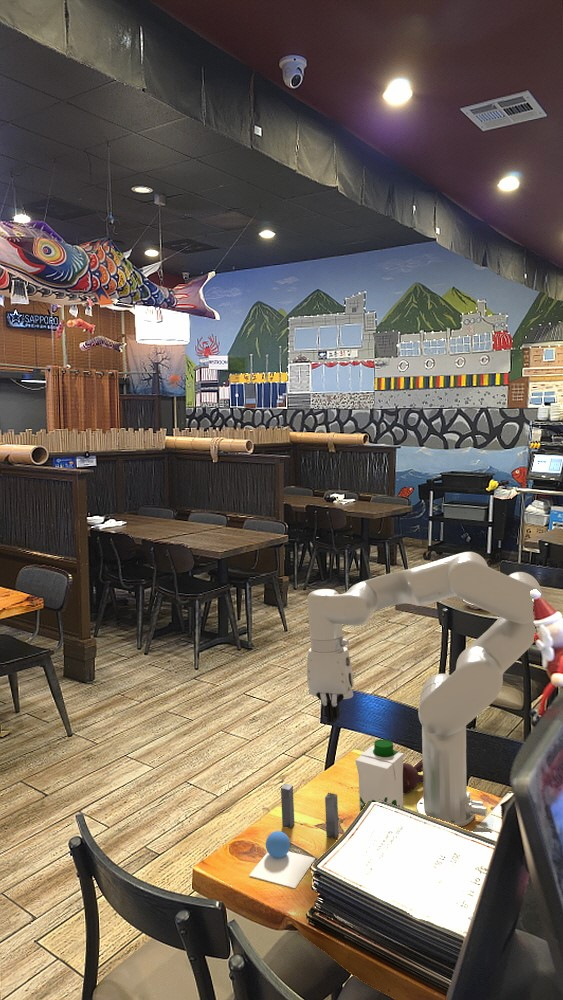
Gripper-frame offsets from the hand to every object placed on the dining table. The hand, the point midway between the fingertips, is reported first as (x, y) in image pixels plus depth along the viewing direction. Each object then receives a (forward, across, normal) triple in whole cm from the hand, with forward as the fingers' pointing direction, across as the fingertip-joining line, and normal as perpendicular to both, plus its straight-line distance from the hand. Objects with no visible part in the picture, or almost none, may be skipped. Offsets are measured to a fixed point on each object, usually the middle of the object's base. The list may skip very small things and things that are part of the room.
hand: (332, 720), depth 162 cm
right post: (+20, -4, +13) cm, 24 cm away
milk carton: (+20, -13, +10) cm, 26 cm away
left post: (+19, +7, +13) cm, 25 cm away
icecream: (+21, -13, -10) cm, 26 cm away
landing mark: (+20, +2, +27) cm, 34 cm away
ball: (+17, +4, +24) cm, 30 cm away
